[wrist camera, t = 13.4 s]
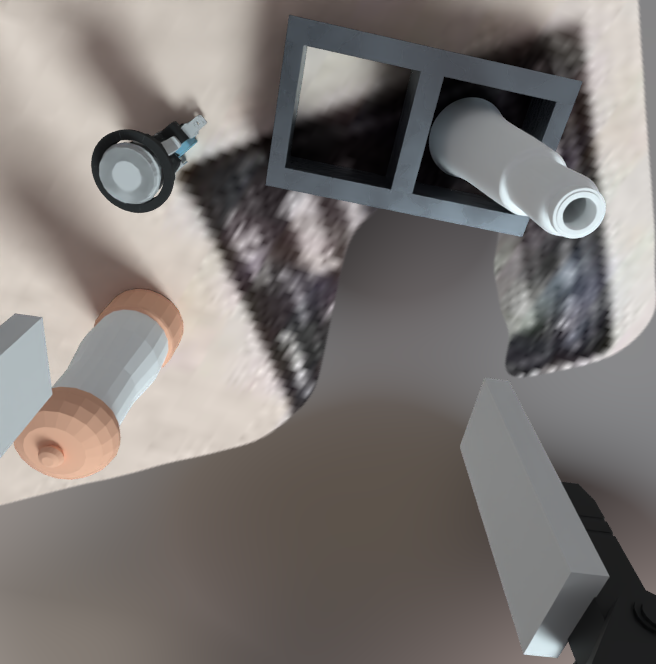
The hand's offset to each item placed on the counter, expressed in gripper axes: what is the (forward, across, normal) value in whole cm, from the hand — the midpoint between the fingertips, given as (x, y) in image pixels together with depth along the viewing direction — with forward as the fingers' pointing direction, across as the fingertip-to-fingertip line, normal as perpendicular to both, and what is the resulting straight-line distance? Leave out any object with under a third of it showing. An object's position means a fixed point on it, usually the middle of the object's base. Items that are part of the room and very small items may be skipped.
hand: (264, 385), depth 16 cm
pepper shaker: (+31, -14, -16) cm, 38 cm away
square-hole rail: (+31, +7, +5) cm, 32 cm away
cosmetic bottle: (+31, +12, +4) cm, 34 cm away
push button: (+31, -11, 0) cm, 33 cm away
